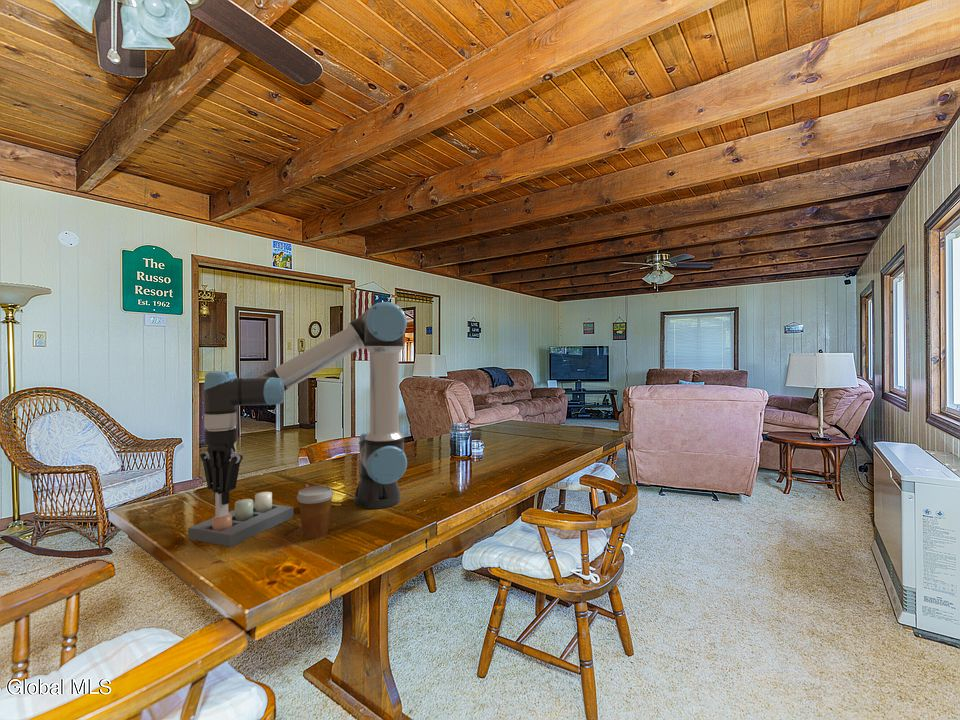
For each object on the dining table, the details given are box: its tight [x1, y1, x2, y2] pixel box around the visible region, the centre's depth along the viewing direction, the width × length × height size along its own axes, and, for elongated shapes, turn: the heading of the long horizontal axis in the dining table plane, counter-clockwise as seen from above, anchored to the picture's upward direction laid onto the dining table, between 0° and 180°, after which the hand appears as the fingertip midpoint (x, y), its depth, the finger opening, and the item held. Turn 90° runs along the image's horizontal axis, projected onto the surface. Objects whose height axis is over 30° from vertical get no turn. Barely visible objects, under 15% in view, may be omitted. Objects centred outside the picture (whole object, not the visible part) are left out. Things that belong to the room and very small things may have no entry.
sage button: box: [234, 498, 254, 522], centre depth 127 cm, size 5×5×5 cm
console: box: [187, 501, 294, 548], centre depth 127 cm, size 15×22×3 cm
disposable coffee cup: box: [296, 485, 335, 540], centre depth 122 cm, size 10×10×12 cm
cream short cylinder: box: [254, 491, 273, 513], centre depth 134 cm, size 5×5×5 cm
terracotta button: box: [211, 514, 232, 531], centre depth 121 cm, size 5×5×5 cm
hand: (221, 515), depth 121 cm, fingers closed
